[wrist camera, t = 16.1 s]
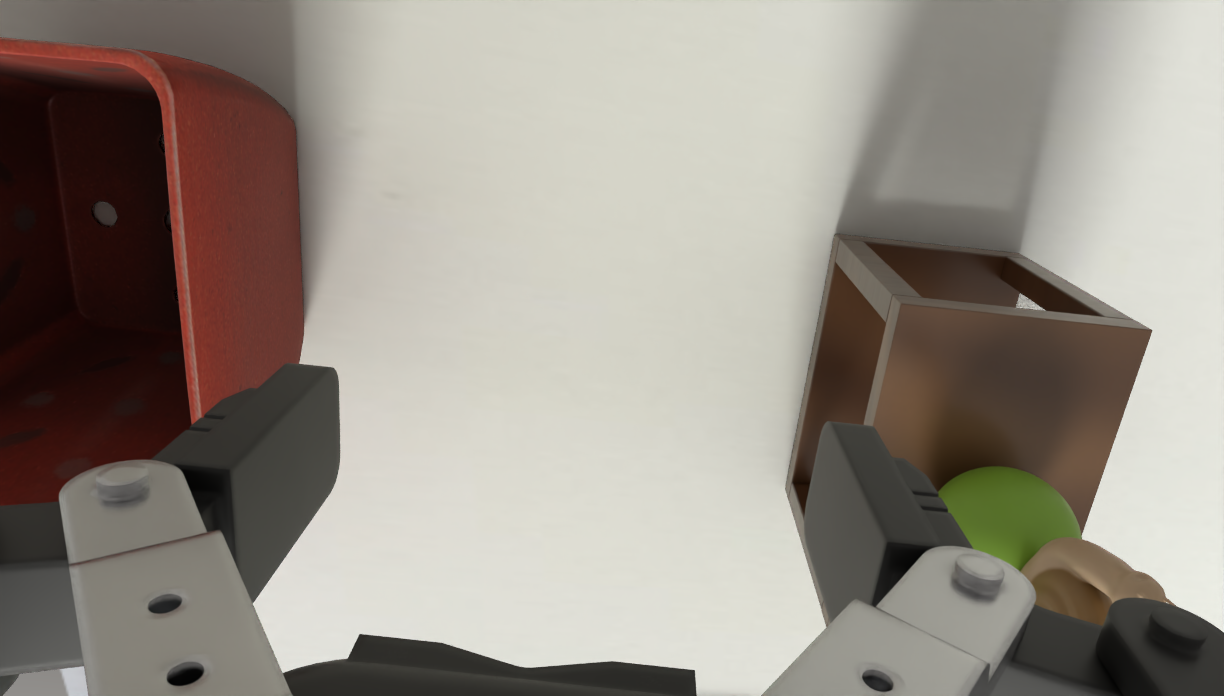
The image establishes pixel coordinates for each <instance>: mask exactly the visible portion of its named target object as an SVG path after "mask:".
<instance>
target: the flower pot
mask: <svg viewBox="0 0 1224 696" xmlns="http://www.w3.org/2000/svg"><path fill="white" fill-rule="evenodd" d="M162 133H164V144H165V154H164V153H163V152H162V150H161V148H160V145H159V139H160V136H161V134H162ZM98 201H104V202H108V203H109V204H110V205H112V206H113V207H114V208H115V211H116V214H117V221H116V223H115V224H114V225H113V226H111V227H104V226H101V225H100V224H98V223H97V222H96V221H95V220H94V218H93V216H92V206H93V205H94V204H95V203H96V202H98ZM169 209H170V216H171V228H172V233H170V231H169V230H168V229H167V228H166V225H165V222H164V217H165V215H166V213H167V211H168V210H169ZM176 287H177V290H178V300H179V302H178V301H177V300H176V299H175V297H174V290H176ZM303 336H304V317H303V292H302V268H301V244H300V219H299V194H298V171H297V146H296V128H295V125H294V121H293V120H292V118H291V116H290V115H289V114H288V112H287V111H286V110H285V109H284V108H283V107H282V106H281V105H280V104H279V103H278V102H277V101H276V100H275V99H274V98H273V97H271V96H270V95H269V94H267V93H266V92H265V91H263V90H262V89H260V88H259V87H257V86H255V85H254V84H252V83H250V82H248V81H246V80H244V79H242V78H240V77H238V76H236V75H233V74H231V73H229V72H226V71H224V70H221V69H218V68H215V67H213V66H210V65H206V64H202V63H199V62H195V61H191V60H187V59H184V58H180V57H176V56H171V55H167V54H162V53H157V52H151V51H143V50H134V49H126V48H116V47H105V46H94V45H83V44H71V43H59V42H47V41H35V40H24V39H13V38H2V37H0V506H3V505H18V504H33V503H48V502H58V501H59V493H60V491H61V489H62V487H63V486H64V485H65V484H66V483H67V482H68V481H70V480H71V479H72V478H74V477H76V476H77V475H79V474H81V473H83V472H85V471H87V470H90V469H93V468H95V467H98V466H102V465H105V464H110V463H114V462H120V461H127V460H151V459H152V458H153V457H154V456H156V455H157V454H158V453H159V452H160V451H161V450H163V449H164V448H165V447H166V446H167V445H169V444H170V443H171V442H172V441H173V440H175V439H176V438H177V437H178V436H179V435H180V434H182V433H183V432H184V431H185V430H189V429H190V426H191V425H192V424H193V423H195V422H196V421H197V420H198V419H199V418H201V417H202V418H204V414H205V413H206V412H208V411H209V410H210V409H211V408H212V407H214V406H215V405H216V404H217V403H218V402H219V401H221V400H222V399H224V398H227V397H229V396H231V395H234V394H236V393H239V392H241V391H243V390H246V389H248V388H258V387H260V386H261V385H262V384H263V383H264V382H265V381H266V380H267V379H268V378H270V377H271V376H272V375H273V374H274V373H275V372H276V371H277V370H279V369H280V368H281V367H282V366H283V365H284V364H286V363H295V364H299V361H300V356H301V349H302V343H303Z"/></svg>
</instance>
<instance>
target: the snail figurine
mask: <svg viewBox="0 0 1224 696" xmlns="http://www.w3.org/2000/svg"><path fill="white" fill-rule="evenodd" d="M938 494H939V497H940V498H942V500H943V501H944V503H945V505H946V506H947V508H948V513H951V514H952V516H953V517H954V519H955V520H956V522H957V524H958V525H959V527H960V528H961V530H962V531H963V533H964V535H965V536H966V538H967V539H968V541H969V542H970V544H971V546H972V547H973V549H975V550H978V551H981V552H984V553H987V554H990V555H992V556H995V557H997V558H999V559H1001V560H1003V561H1005V562H1006V563H1008V564H1010V565H1012V566H1013V567H1014V568H1016V569H1017V570H1019V571H1020V572H1021V573H1022V574H1023V575H1024V576H1025V577H1026V578H1027V579H1028V580H1029V581H1030V582H1031V584H1032V585H1033V587H1034V589H1035V592H1036V601H1035V605H1038V606H1040V607H1042V608H1045V609H1048V610H1051V611H1054V612H1057V613H1060V614H1064V615H1067V616H1071V617H1074V618H1077V619H1081V620H1084V621H1088V622H1091V623H1094V624H1098V625H1101V626H1103V624H1104V621H1105V619H1106V616H1107V613H1108V611H1109V608H1110V606H1111V604H1113V603H1114V602H1115V601H1117V600H1119V599H1123V598H1146V599H1152V600H1157V601H1160V602H1164V603H1166V602H1167V603H1169V604H1170V605H1173V606H1176V605H1174V604H1173V603H1172V602H1171V601H1170V600H1169V599H1167V598H1166V596H1165V592H1164V590H1163V588H1162V587H1161V586H1160V584H1159V583H1158V582H1157V581H1155V580H1154V579H1153V578H1152V577H1150V576H1149V575H1147V574H1145V573H1142V572H1138V571H1135V570H1134V569H1132V568H1131V567H1130V566H1129V565H1128V564H1127V563H1125V562H1124V561H1123V560H1121V559H1120V558H1118V557H1117V556H1115V555H1113V554H1112V553H1110V552H1108V551H1107V550H1105V549H1103V548H1101V547H1100V546H1098V545H1096V544H1094V543H1091V542H1088V541H1085V540H1082V537H1081V531H1080V528H1079V524H1078V521H1077V519H1076V517H1075V515H1074V513H1073V511H1072V509H1071V508H1070V506H1069V504H1068V503H1067V502H1066V500H1065V499H1064V498H1063V497H1062V496H1061V495H1060V494H1059V493H1058V492H1057V491H1056V490H1055V489H1054V488H1053V487H1052V486H1050V485H1049V484H1048V483H1046V482H1045V481H1043V480H1042V479H1040V478H1038V477H1036V476H1035V475H1032V474H1030V473H1028V472H1025V471H1022V470H1019V469H1015V468H1010V467H1001V466H990V467H981V468H977V469H973V470H970V471H967V472H964V473H962V474H960V475H958V476H956V477H955V478H953V479H952V480H950V481H949V482H948V483H946V484H945V485H944V486H943V487H942V488H941V489H940V490H939V492H938ZM1176 607H1177V606H1176Z"/></svg>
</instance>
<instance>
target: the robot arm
mask: <svg viewBox="0 0 1224 696" xmlns="http://www.w3.org/2000/svg"><path fill="white" fill-rule="evenodd" d="M339 463H340V419H339V381H338V375H337V372H336V370H335V369H334V368H332V367H323V366H313V365H304V364H295V363H286V364H284V365H283V366H282V367H281V368H280V369H279V370H277V371H276V372H275V373H274V374H273V375H272V376H271V377H270V378H268V379H267V380H266V381H265V382H264V383H263V384H262V385H261V386H260V387H258V388H248V389H246V390H243V391H241V392H239V393H236V394H234V395H231V396H229V397H227V398H224V399H222V400H221V401H219V402H218V403H217V404H216V405H215V406H214V407H212V408H211V409H210V410H209V411H208V412H206V413H205V414H204V418H202V417H201V418H199V419H198V420H197V421H196V422H195V423H193V424H192V425H191V426H190V429H189V430H185V431H184V432H183V433H182V434H180V435H179V436H178V437H177V438H176V439H175V440H173V441H172V442H171V443H170V444H169V445H167V446H166V447H165V448H164V449H163V450H161V451H160V452H159V453H158V454H157V455H156V456H154V457H153V458H152V459H151V460H127V461H120V462H114V463H110V464H105V465H102V466H98V467H95V468H93V469H90V470H87V471H85V472H83V473H81V474H79V475H77V476H76V477H74V478H72V479H71V480H70V481H68V482H67V483H66V484H65V485H64V486H63V487H62V489H61V491H60V493H59V501H58V502H48V503H33V504H18V505H3V506H0V696H3V694H4V693H5V692H6V691H7V690H8V689H9V688H10V687H11V685H12V684H13V683H14V682H15V680H16V679H17V678H18V676H19V674H23V673H31V672H39V671H47V670H55V669H64V668H72V667H80V666H84V669H85V676H86V682H87V689H88V696H696V682H695V670H687V669H678V668H669V667H660V666H650V665H641V664H632V663H623V662H613V661H611V662H598V663H586V664H573V665H561V666H548V667H536V668H524V667H518V666H514V665H511V664H508V663H505V662H501V661H498V660H495V659H492V658H489V657H485V656H482V655H479V654H476V653H472V652H469V651H466V650H463V649H460V648H456V647H453V646H450V645H447V644H444V643H437V642H428V641H419V640H410V639H400V638H391V637H382V636H372V635H363V634H360V635H359V637H358V639H357V641H356V643H355V645H354V647H353V649H352V651H351V653H350V655H349V657H348V659H341V660H334V661H328V662H322V663H316V664H312V665H308V666H304V667H300V668H296V669H293V670H290V671H288V672H285V673H282V671H281V669H280V666H279V664H278V662H277V659H276V657H275V655H274V652H273V650H272V648H271V645H270V643H269V641H268V638H267V636H266V634H265V632H264V629H263V627H262V625H261V622H260V620H259V618H258V615H257V613H256V611H255V608H254V606H253V602H254V601H255V600H256V598H257V597H258V595H259V594H260V592H261V591H262V590H263V588H264V587H265V585H266V584H267V583H268V581H269V580H270V578H271V577H272V575H273V574H274V573H275V571H276V570H277V568H278V567H279V565H280V564H281V563H282V561H283V560H284V558H285V557H286V555H287V554H288V553H289V551H290V550H291V548H292V547H293V545H294V544H295V543H296V541H297V540H298V538H299V537H300V535H301V534H302V533H303V531H304V530H305V528H306V527H307V525H308V524H309V523H310V521H311V520H312V518H313V517H314V515H315V514H316V513H317V511H318V510H319V508H320V507H321V505H322V504H323V503H324V501H325V500H326V498H327V497H328V496H329V494H330V493H331V491H332V489H333V487H334V484H335V482H336V478H337V475H338V470H339ZM804 536H805V543H806V546H807V550H808V553H809V556H810V559H811V562H812V566H813V569H814V572H815V575H816V579H817V582H818V585H819V588H820V591H821V595H822V598H823V601H824V604H825V608H826V611H827V614H828V617H829V621H830V624H829V626H828V627H827V628H826V629H825V630H824V631H823V632H822V633H821V634H820V635H819V636H818V637H817V638H816V639H815V640H814V641H813V642H812V643H811V644H810V645H809V646H808V647H807V648H806V649H805V651H804V652H803V653H802V654H801V655H800V656H799V657H798V658H797V659H796V660H795V661H794V662H793V663H792V664H791V665H790V666H789V667H788V668H787V669H786V670H785V671H784V672H783V673H782V674H781V676H780V677H779V678H778V679H777V680H776V681H775V682H774V683H773V684H772V685H771V686H770V687H769V688H768V689H767V690H766V691H765V692H764V693H763V694H762V695H761V696H1224V633H1223V632H1222V631H1221V630H1220V629H1218V628H1217V627H1215V626H1214V625H1212V624H1211V623H1209V622H1207V621H1206V620H1204V619H1202V618H1201V617H1199V616H1197V615H1195V614H1193V613H1191V612H1189V611H1186V610H1184V609H1181V608H1179V607H1176V606H1173V605H1170V604H1168V603H1164V602H1160V601H1157V600H1152V599H1146V598H1123V599H1119V600H1117V601H1115V602H1114V603H1113V604H1111V606H1110V608H1109V611H1108V613H1107V616H1106V619H1105V621H1104V624H1103V626H1101V625H1098V624H1094V623H1091V622H1088V621H1084V620H1081V619H1077V618H1074V617H1071V616H1067V615H1064V614H1060V613H1057V612H1054V611H1051V610H1048V609H1045V608H1042V607H1040V606H1038V605H1035V601H1036V592H1035V589H1034V587H1033V585H1032V584H1031V582H1030V581H1029V580H1028V579H1027V578H1026V577H1025V576H1024V575H1023V574H1022V573H1021V572H1020V571H1019V570H1017V569H1016V568H1014V567H1013V566H1012V565H1010V564H1008V563H1006V562H1005V561H1003V560H1001V559H999V558H997V557H995V556H992V555H990V554H987V553H984V552H981V551H978V550H975V549H973V547H972V546H971V544H970V542H969V541H968V539H967V538H966V536H965V535H964V533H963V531H962V530H961V528H960V527H959V525H958V524H957V522H956V520H955V519H954V517H953V516H952V514H951V513H948V508H947V506H946V505H945V503H944V501H943V500H942V498H940V497H939V494H938V492H937V490H936V489H935V487H934V486H933V484H932V483H931V481H930V479H929V478H928V476H927V475H925V474H924V473H923V472H921V471H920V470H919V469H917V468H916V467H915V466H914V465H912V464H911V463H910V462H908V461H907V460H906V459H904V458H895V457H892V456H891V455H890V453H889V451H888V449H887V448H886V446H885V444H884V442H883V441H882V439H881V437H880V436H879V434H878V432H877V430H876V429H875V427H873V426H869V425H859V424H850V423H840V422H831V421H827V422H826V423H825V424H824V426H823V428H822V431H821V435H820V439H819V444H818V449H817V453H816V458H815V463H814V468H813V473H812V478H811V483H810V487H809V492H808V497H807V502H806V507H805V516H804Z"/></svg>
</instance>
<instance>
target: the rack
mask: <svg viewBox="0 0 1224 696" xmlns="http://www.w3.org/2000/svg"><path fill="white" fill-rule="evenodd" d="M1020 293H1021V294H1023V295H1024V296H1026V297H1027V298H1029V299H1030V300H1032V301H1033V302H1035V303H1036V304H1037V305H1039V306H1040V307H1042V308H1043V309H1045V310H1046V311H1042V310H1033V309H1023V308H1016V304H1017V301H1018V297H1019V294H1020ZM1151 333H1152V330H1151V329H1149V328H1148V327H1146V326H1144V325H1142V324H1141V323H1139V322H1137V321H1135V320H1133V319H1131V318H1130V317H1128V316H1126V315H1125V314H1123V313H1121V312H1119V311H1118V310H1116V309H1114V308H1112V307H1111V306H1109V305H1107V304H1106V303H1104V302H1102V301H1100V300H1099V299H1097V298H1095V297H1094V296H1092V295H1090V294H1088V293H1087V292H1085V291H1083V290H1081V289H1080V288H1078V287H1076V286H1075V285H1073V284H1071V283H1069V282H1068V281H1066V280H1064V279H1063V278H1061V277H1059V276H1057V275H1056V274H1054V273H1052V272H1051V271H1049V270H1047V269H1045V268H1044V267H1042V266H1040V265H1038V264H1037V263H1035V262H1033V261H1032V260H1030V259H1028V258H1026V257H1025V256H1023V255H1021V254H1019V253H1012V252H1003V251H993V250H984V249H974V248H965V247H955V246H946V245H936V244H927V243H917V242H908V241H898V240H889V239H879V238H870V237H860V236H851V235H841V234H835V236H834V241H833V246H832V251H831V257H830V262H829V267H828V272H827V277H826V282H825V287H824V292H823V298H822V303H821V308H820V313H819V318H818V323H817V328H816V334H815V339H814V344H813V349H812V354H811V359H810V364H809V370H808V375H807V380H806V385H805V390H804V395H803V400H802V405H801V411H800V416H799V421H798V426H797V431H796V436H795V441H794V447H793V452H792V457H791V462H790V467H789V472H788V477H787V482H786V488H785V490H786V493H787V497H788V500H789V503H790V506H791V510H792V513H793V516H794V520H795V523H796V526H797V530H798V533H799V536H800V540H801V543H802V546H803V549H804V553H805V556H806V559H807V563H808V566H809V569H810V573H811V576H812V579H813V583H814V586H815V589H816V592H817V596H818V599H819V602H820V606H821V609H822V614H823V617H824V620H825V624H826V627H828V626H829V624H830V621H829V617H828V614H827V611H826V608H825V604H824V601H823V598H822V595H821V591H820V588H819V585H818V582H817V579H816V575H815V572H814V569H813V566H812V562H811V559H810V556H809V553H808V550H807V546H806V543H805V536H804V516H805V507H806V502H807V497H808V492H809V487H810V483H811V478H812V473H813V468H814V463H815V458H816V453H817V449H818V444H819V439H820V435H821V431H822V428H823V426H824V424H825V423H826V422H827V421H831V422H840V423H850V424H859V425H869V426H873V427H875V429H876V430H877V432H878V434H879V436H880V437H881V439H882V441H883V442H884V444H885V446H886V448H887V449H888V451H889V453H890V455H891V456H892V457H895V458H904V459H906V460H907V461H908V462H910V463H911V464H912V465H914V466H915V467H916V468H917V469H919V470H920V471H921V472H923V473H924V474H925V475H927V476H928V478H929V479H930V481H931V483H932V484H933V486H934V487H935V489H936V490H937V492H939V490H940V489H941V488H942V487H943V486H944V485H945V484H946V483H948V482H949V481H950V480H952V479H953V478H955V477H956V476H958V475H960V474H962V473H964V472H967V471H970V470H973V469H977V468H981V467H990V466H1001V467H1010V468H1015V469H1019V470H1022V471H1025V472H1028V473H1030V474H1032V475H1035V476H1036V477H1038V478H1040V479H1042V480H1043V481H1045V482H1046V483H1048V484H1049V485H1050V486H1052V487H1053V488H1054V489H1055V490H1056V491H1057V492H1058V493H1059V494H1060V495H1061V496H1062V497H1063V498H1064V499H1065V500H1066V502H1067V503H1068V504H1069V506H1070V508H1071V509H1072V511H1073V513H1074V515H1075V517H1076V519H1077V521H1078V524H1079V528H1080V531H1081V536H1082V533H1083V530H1084V527H1085V524H1086V521H1087V518H1088V515H1089V513H1090V510H1091V507H1092V504H1093V501H1094V498H1095V495H1096V492H1097V489H1098V486H1099V484H1100V481H1101V478H1102V475H1103V472H1104V469H1105V466H1106V463H1107V460H1108V458H1109V455H1110V452H1111V449H1112V446H1113V443H1114V440H1115V437H1116V434H1117V431H1118V429H1119V426H1120V423H1121V420H1122V417H1123V414H1124V411H1125V408H1126V405H1127V402H1128V400H1129V397H1130V394H1131V391H1132V388H1133V385H1134V382H1135V379H1136V376H1137V373H1138V371H1139V368H1140V365H1141V362H1142V359H1143V356H1144V353H1145V350H1146V347H1147V345H1148V342H1149V339H1150V336H1151Z"/></svg>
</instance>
